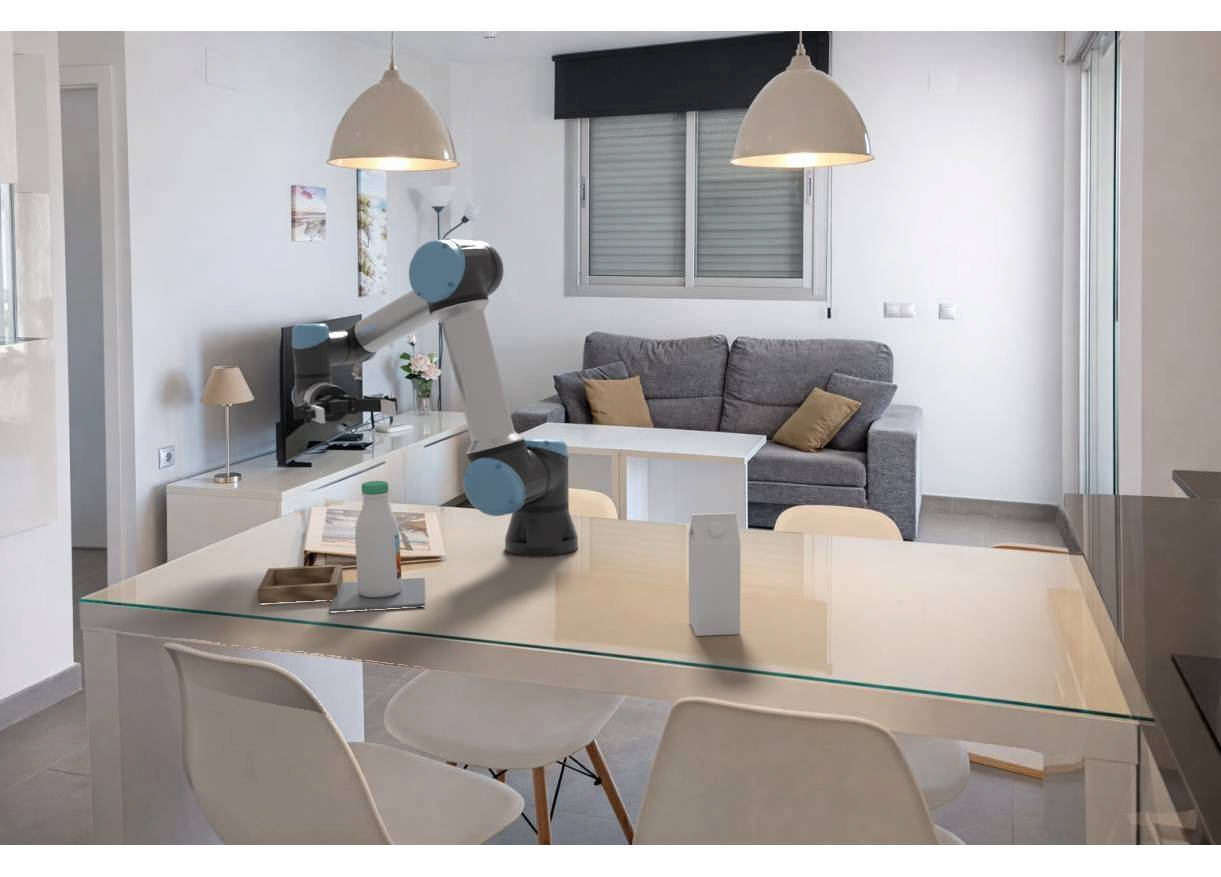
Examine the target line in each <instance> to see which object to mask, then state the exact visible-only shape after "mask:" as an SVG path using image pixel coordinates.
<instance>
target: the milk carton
mask: <svg viewBox="0 0 1221 877" xmlns="http://www.w3.org/2000/svg"><path fill="white" fill-rule="evenodd" d="M739 532H740V531H739V527H738V521H737V513H736V512H728V513H727V512H726V513H725V512H723V513H694V514H691V523H690V527H689V530H688V622H689V624H690V626H691V629H692V631H693V632H694V635H695V637H705V636H706V637H707V636H728V635H740V634H741V537H740V533H739Z"/></svg>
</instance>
